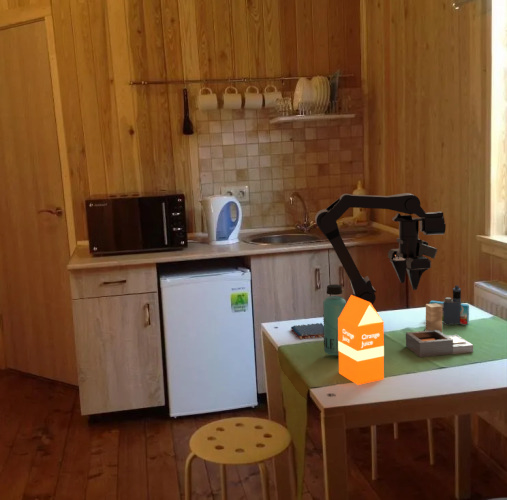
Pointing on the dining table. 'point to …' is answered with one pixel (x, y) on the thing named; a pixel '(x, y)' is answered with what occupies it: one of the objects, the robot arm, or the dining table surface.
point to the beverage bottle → (332, 318)
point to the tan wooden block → (433, 317)
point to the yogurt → (463, 312)
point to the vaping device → (452, 307)
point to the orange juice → (360, 342)
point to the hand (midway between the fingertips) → (408, 286)
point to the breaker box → (436, 343)
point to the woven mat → (308, 330)
